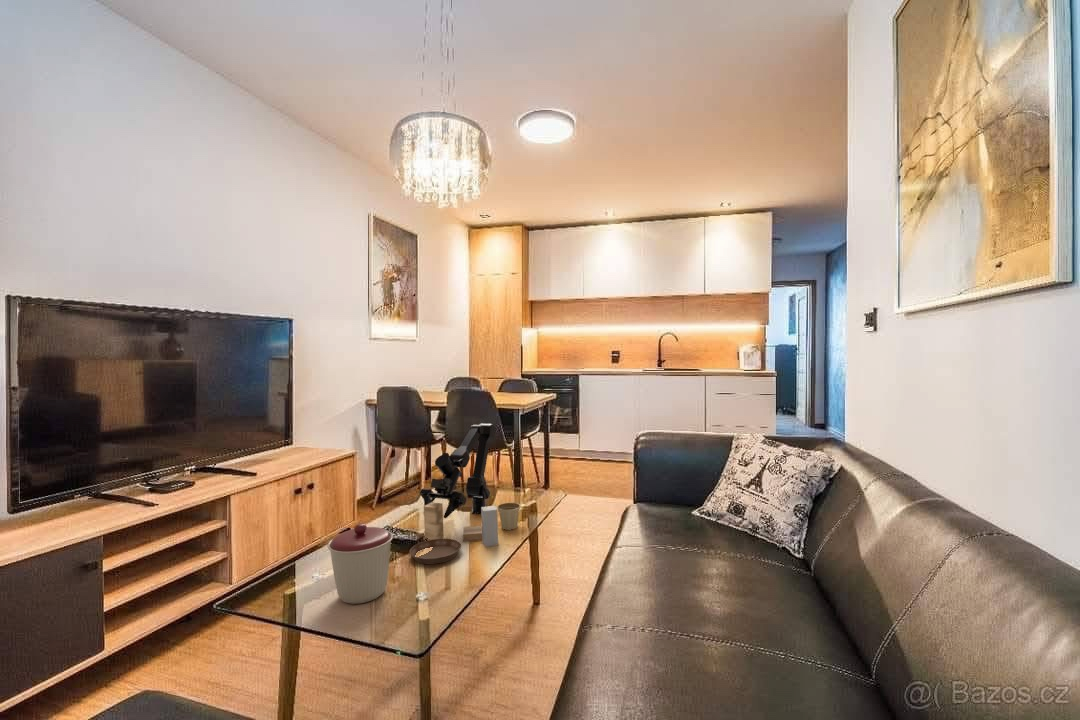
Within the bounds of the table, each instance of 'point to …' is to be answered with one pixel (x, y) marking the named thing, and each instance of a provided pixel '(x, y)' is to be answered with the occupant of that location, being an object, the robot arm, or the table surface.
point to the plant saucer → (436, 550)
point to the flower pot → (509, 515)
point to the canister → (361, 563)
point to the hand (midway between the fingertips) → (434, 516)
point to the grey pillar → (489, 526)
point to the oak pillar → (433, 520)
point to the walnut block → (472, 533)
